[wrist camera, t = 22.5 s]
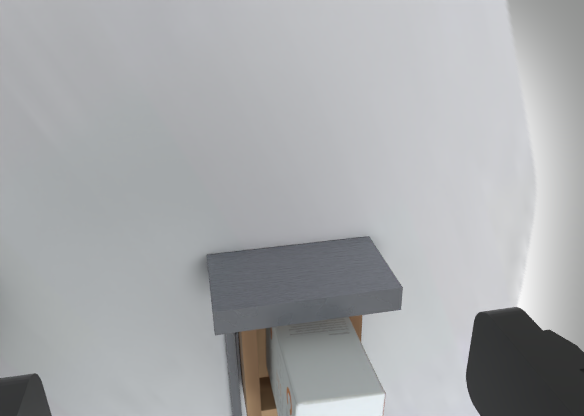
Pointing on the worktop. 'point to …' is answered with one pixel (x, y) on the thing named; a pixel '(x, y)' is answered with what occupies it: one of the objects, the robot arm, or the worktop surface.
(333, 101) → the worktop surface
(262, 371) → the socket block
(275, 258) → the backstop track
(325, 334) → the small box
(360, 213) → the worktop surface
